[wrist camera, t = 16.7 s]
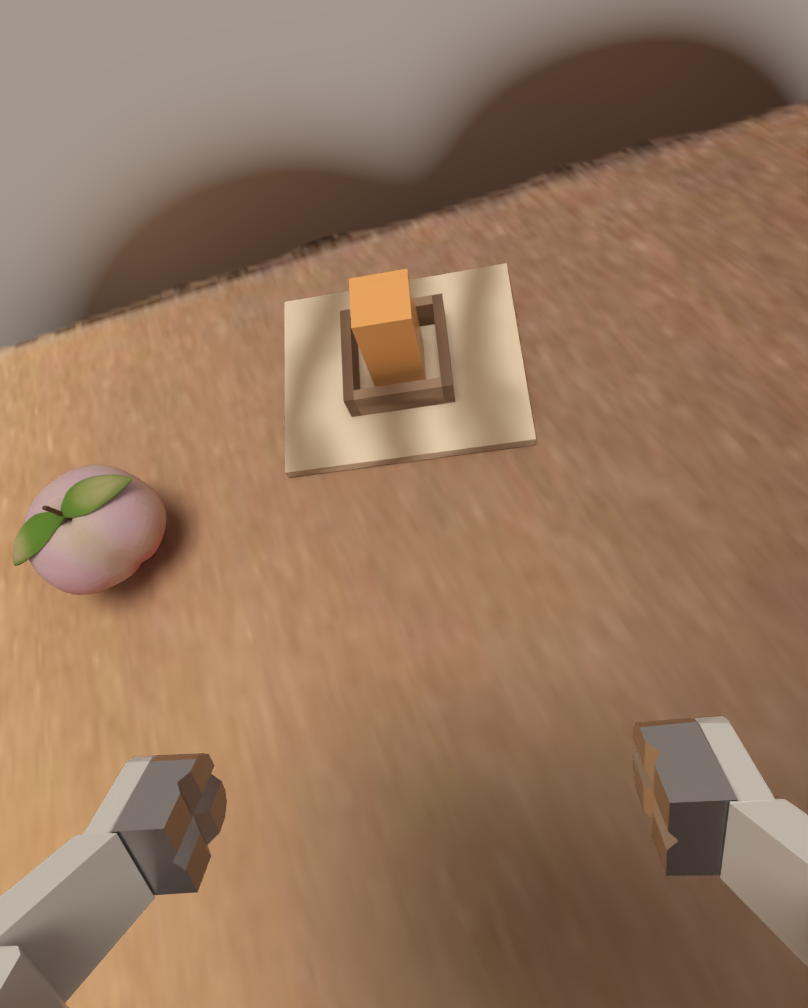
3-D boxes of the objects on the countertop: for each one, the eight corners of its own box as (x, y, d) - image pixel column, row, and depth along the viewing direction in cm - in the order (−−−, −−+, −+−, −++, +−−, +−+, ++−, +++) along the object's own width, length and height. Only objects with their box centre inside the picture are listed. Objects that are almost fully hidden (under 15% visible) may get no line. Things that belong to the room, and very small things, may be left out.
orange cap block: (422, 339, 45) (407, 268, 37) (426, 383, 44) (411, 318, 36) (373, 347, 45) (349, 278, 38) (376, 390, 44) (351, 328, 37)
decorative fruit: (153, 471, 46) (66, 414, 37) (212, 535, 43) (133, 491, 34) (66, 553, 45) (-48, 516, 36) (121, 624, 42) (13, 604, 33)
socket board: (506, 271, 47) (506, 240, 44) (535, 444, 42) (538, 423, 38) (288, 309, 49) (273, 282, 46) (289, 477, 44) (272, 459, 41)
